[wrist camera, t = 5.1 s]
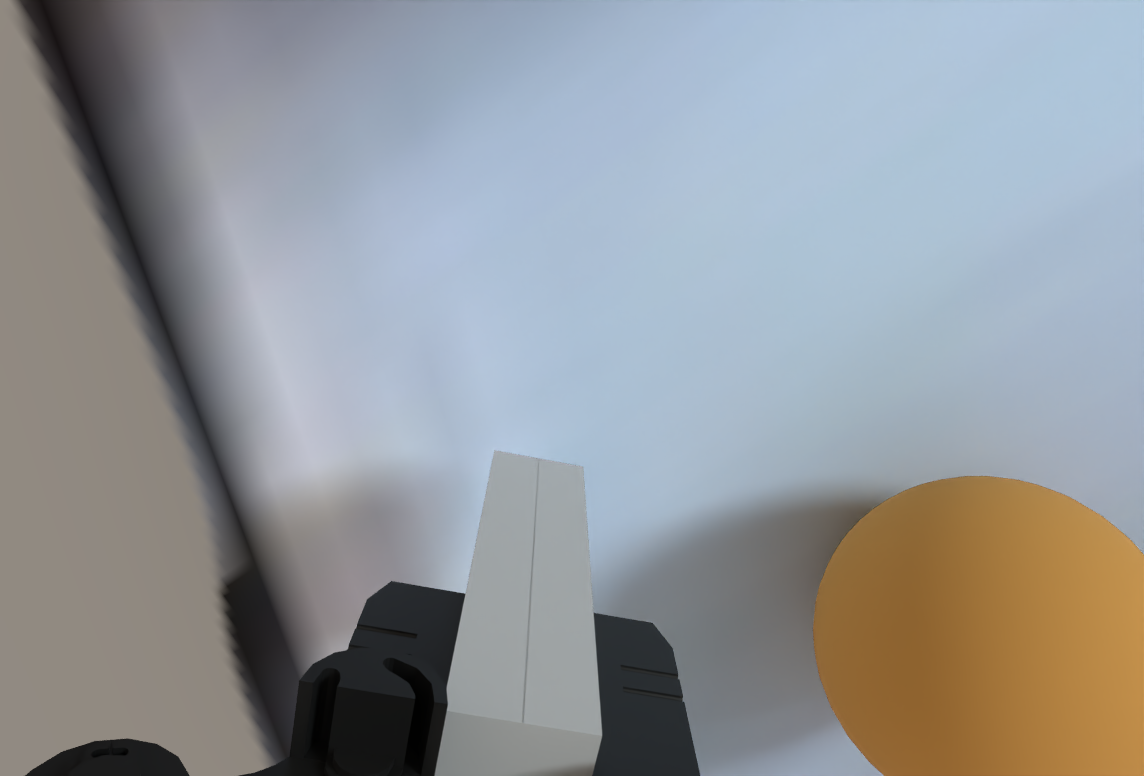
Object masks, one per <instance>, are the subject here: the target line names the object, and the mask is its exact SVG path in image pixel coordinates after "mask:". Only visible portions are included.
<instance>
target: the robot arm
mask: <svg viewBox="0 0 1144 776" xmlns="http://www.w3.org/2000/svg"><path fill="white" fill-rule="evenodd" d="M682 698H683V694H682V690H681V685H680V681H679V680H678V671H677V667H676V662H675V658H674V653H673V648H672V647H671V646H670V644H669V643H668V642H667V641H666V639H665V638H664V637H663V636H662V634H661V633H660V632H659V631H658V629H657V628H656V627H655V626H654V624H653V623H649V622H643V621H637V620H631V619H625V618H620V617H614V616H608V615H602V614H596V613H594V612H593V598H592V584H591V570H590V556H589V542H588V528H587V514H586V499H585V485H584V471H583V467H582V466H577V465H572V464H566V463H561V462H555V461H550V460H544V459H539V458H534V457H528V456H523V455H517V454H512V453H506V452H501V451H496V450H494V454H493V459H492V464H491V469H490V474H489V479H488V484H487V489H486V494H485V499H484V504H483V509H482V514H481V519H480V524H479V529H478V534H477V539H476V544H475V549H474V554H473V559H472V564H471V569H470V574H469V579H468V584H467V589H466V594H463V593H457V592H452V591H446V590H440V589H434V588H428V587H422V586H417V585H411V584H405V583H399V582H393V581H391V582H390V583H388V584H387V585H386V586H384V587H383V588H382V589H380V590H379V591H378V592H376V593H375V594H374V595H372V596H371V597H370V598H368V599H367V601H366V604H365V606H364V609H363V611H362V614H361V616H360V619H359V621H358V624H357V628H356V629H355V631H354V633H353V636H352V638H351V641H350V643H349V647H348V650H346V651H341V652H336V653H333V654H331V655H329V656H327V657H326V658H324V659H322V660H320V661H318V662H316V663H314V664H313V665H312V666H311V667H310V668H309V670H308V671H307V672H306V673H305V674H304V676H303V677H302V678H301V679H300V680H299V688H298V696H297V703H296V711H295V719H294V727H293V734H292V742H291V750H290V757H288V758H286V759H285V760H283V761H281V762H280V763H278V764H276V765H274V766H271V767H269V768H266V769H264V770H260V771H258V772H255V773H251V774H245V775H240V776H700V773H699V768H698V763H697V759H696V754H695V750H694V745H693V740H692V736H691V731H690V727H689V722H688V717H687V713H686V708H685V704H684V702H682ZM25 776H189V774H188V772H187V771H186V769H185V767H184V766H183V764H182V762H181V761H180V759H179V757H178V756H176V755H174V754H173V753H171V752H169V751H168V750H166V749H164V748H163V747H161V746H159V745H157V744H154V743H148V742H143V741H138V740H133V739H117V740H104V741H94V742H91V743H88V744H85V745H82V746H78V747H75V748H72V749H69V750H66V751H63V752H61V753H59V754H57V755H56V756H54V757H52V758H51V759H49V760H47V761H46V762H44V763H43V764H41V765H39V766H38V767H36V768H34V769H33V770H31V771H30V772H29V773H28V774H27V775H25Z"/></svg>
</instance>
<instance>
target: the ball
mask: <svg viewBox="0 0 1144 776" xmlns="http://www.w3.org/2000/svg"><path fill="white" fill-rule="evenodd" d="M813 638H814V650H815V657H816V662H817V667H818V672H819V676H820V679H821V682H822V685H823V687H824V690H825V693H826V695H827V698H828V701H829V703H830V706H831V708H832V710H833V711H834V713H835V715H836V717H837V718H838V720H839V722H840V723H841V725H842V727H843V729H844V730H845V732H846V734H847V735H848V737H849V738H850V739H851V740H852V742H853V743H854V744H855V745H856V747H857V748H858V749H859V750H860V751H861V753H862V754H863V755H864V756H865V757H866V759H867V760H868V761H869V762H870V763H871V764H872V765H873V766H874V767H875V768H876V769H878V770H879V771H880V772H881V773H882V774H883V775H884V776H1144V554H1143V553H1142V552H1141V551H1140V550H1139V549H1138V548H1137V546H1136V545H1135V544H1134V543H1133V542H1132V541H1131V540H1130V539H1129V538H1128V537H1127V536H1126V535H1124V534H1123V533H1122V532H1121V531H1120V530H1119V529H1117V528H1116V527H1115V526H1114V525H1112V524H1111V523H1110V522H1109V521H1108V520H1106V519H1105V518H1104V517H1103V516H1101V515H1099V514H1098V513H1096V512H1094V511H1093V510H1091V509H1089V508H1088V507H1086V506H1084V505H1082V504H1081V503H1079V502H1077V501H1076V500H1074V499H1072V498H1070V497H1068V496H1066V495H1063V494H1061V493H1058V492H1056V491H1053V490H1051V489H1048V488H1045V487H1042V486H1039V485H1036V484H1032V483H1028V482H1024V481H1020V480H1015V479H1007V478H999V477H991V476H964V477H957V478H949V479H941V480H937V481H932V482H928V483H924V484H921V485H918V486H916V487H913V488H910V489H908V490H905V491H903V492H901V493H899V494H897V495H895V496H893V497H891V498H889V499H887V500H886V501H884V502H883V503H881V504H880V505H878V506H877V507H875V508H874V509H872V510H871V511H870V512H869V513H868V514H866V515H865V516H864V517H863V518H862V519H861V520H859V521H858V522H857V524H856V525H855V526H854V527H853V528H852V529H851V530H850V531H849V532H848V533H847V534H846V536H845V537H844V538H843V540H842V541H841V543H840V544H839V545H838V547H837V548H836V550H835V552H834V554H833V555H832V557H831V559H830V561H829V563H828V565H827V568H826V570H825V573H824V575H823V578H822V580H821V583H820V585H819V590H818V594H817V598H816V602H815V613H814V624H813Z"/></svg>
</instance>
